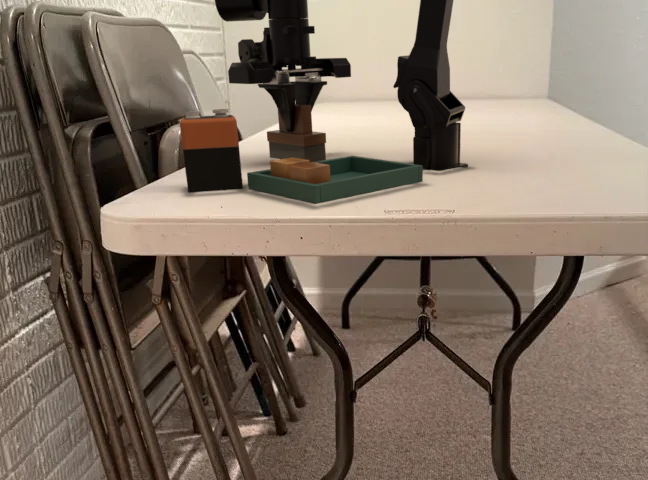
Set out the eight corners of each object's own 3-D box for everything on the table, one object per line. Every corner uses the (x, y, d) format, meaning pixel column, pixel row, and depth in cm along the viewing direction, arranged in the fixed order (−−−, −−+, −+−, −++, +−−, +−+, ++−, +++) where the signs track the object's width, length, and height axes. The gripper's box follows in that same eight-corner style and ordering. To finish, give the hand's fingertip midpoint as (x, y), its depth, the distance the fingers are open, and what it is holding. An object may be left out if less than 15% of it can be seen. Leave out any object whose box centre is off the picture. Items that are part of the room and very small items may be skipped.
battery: (243, 192, 91) (235, 110, 87) (188, 196, 89) (178, 112, 86) (241, 186, 95) (234, 107, 91) (188, 189, 93) (179, 109, 90)
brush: (290, 154, 115) (286, 102, 112) (327, 160, 109) (324, 104, 106) (268, 157, 112) (264, 104, 109) (305, 163, 106) (301, 107, 103)
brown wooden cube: (271, 189, 90) (294, 185, 92) (288, 192, 87) (311, 188, 89) (269, 160, 88) (292, 157, 91) (286, 163, 86) (309, 160, 88)
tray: (353, 173, 102) (352, 155, 101) (422, 185, 92) (422, 165, 91) (248, 192, 91) (246, 172, 90) (315, 208, 81) (314, 185, 80)
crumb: (314, 190, 88) (312, 161, 87) (331, 194, 86) (330, 164, 84) (290, 194, 86) (288, 165, 85) (307, 199, 83) (305, 168, 82)
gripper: (305, 21, 114) (311, 122, 120) (202, 21, 103) (214, 133, 109) (351, 18, 107) (355, 126, 113) (245, 18, 95) (256, 139, 101)
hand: (295, 130), depth 109 cm, fingers closed on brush, 2 cm apart
